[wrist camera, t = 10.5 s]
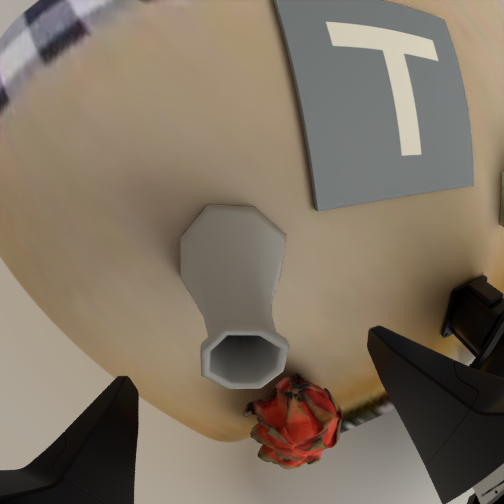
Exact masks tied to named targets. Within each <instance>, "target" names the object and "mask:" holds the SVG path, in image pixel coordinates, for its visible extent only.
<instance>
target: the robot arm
mask: <svg viewBox="0 0 504 504" xmlns="http://www.w3.org/2000/svg"><path fill="white" fill-rule="evenodd" d="M452 334H454V335H455V336H456V337H457V338H458V339H459V340H460V341H461V342H462V343H463V344H464V345H465V346H466V347H467V348H468V349H469V351H470V352H471V353H472V354H473V355H474V356H475V357H476V358H475V359H474V361H473V362H472V364H470V365H469V366H467V365H464V364H462V363H460V362H458V361H455V360H454V361H453V359H451V358H449V357H447V356H444V355H442V354H440V353H438V352H436V351H434V350H431V349H429V348H427V347H425V346H423V345H421V344H418V343H416V342H414V341H412V340H410V339H408V338H406V337H403V336H401V335H399V334H397V333H395V332H393V331H391V330H389V329H386V328H384V327H382V326H375V327H372V328H370V329H369V332H368V341H367V348H368V351H369V354H370V356H371V358H372V361H373V363H374V365H375V368H376V370H377V373H378V375H379V378H380V380H381V382H382V384H383V386H384V388H385V390H386V392H387V393H388V395H389V397H390V399H391V401H392V403H393V404H394V406H395V408H396V410H397V412H398V413H399V415H400V417H401V419H402V421H403V423H404V425H405V427H406V429H407V431H408V433H409V435H410V437H411V439H412V440H413V443H414V444H415V446H416V449H417V451H418V453H419V455H420V457H421V459H422V460H423V463H424V465H425V467H426V469H427V471H428V474H429V476H430V478H431V480H432V482H433V484H434V486H435V489H436V490H437V493H438V495H439V498H440V500H441V502H442V504H446V503H448V502H450V501H451V500H453V499H455V498H456V497H458V496H460V495H461V494H463V493H464V492H466V491H467V490H469V489H470V488H472V487H473V489H474V491H475V493H474V494H473V495H472V496H470V497H469V499H468V502H467V504H504V298H503V293H501V292H500V291H499V290H497V289H496V288H494V287H493V286H492V285H490V284H489V283H487V277H486V276H485V275H484V276H482V277H480V278H478V279H476V280H474V281H471V282H469V283H467V284H465V285H463V286H461V287H459V288H457V289H455V290H454V291H453V292H452V295H451V299H450V304H449V308H448V312H447V316H446V320H445V324H444V328H443V331H442V337H443V338H446V337H448V336H450V335H452ZM138 400H139V394H138V390H137V388H136V387H135V385H134V384H133V382H132V381H131V379H130V378H129V377H128V376H118V377H117V378H116V379H115V380H114V381H113V382H112V383H111V384H110V385H109V386H108V387H107V388H106V389H105V390H104V391H103V392H102V393H101V394H100V395H99V396H98V397H97V398H96V399H95V400H94V401H93V403H91V404H90V405H89V407H87V409H86V410H85V411H84V412H83V413H82V414H81V415H80V416H79V417H78V418H77V419H76V420H75V421H74V422H73V423H72V424H71V425H70V426H69V427H68V428H67V429H66V430H65V432H63V433H62V434H61V436H60V437H59V438H58V439H57V440H56V441H54V443H53V444H51V446H49V447H48V448H47V449H46V450H45V451H44V452H42V453H41V454H40V455H39V456H38V457H37V458H35V459H34V460H33V461H32V462H31V463H30V464H28V465H27V466H26V467H24V468H21V469H17V470H0V504H134V480H135V463H136V449H137V438H138Z"/></svg>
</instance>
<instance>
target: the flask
mask: <svg viewBox="0 0 504 504" xmlns="http://www.w3.org/2000/svg"><path fill="white" fill-rule="evenodd" d="M285 241H286V234H284V233H283V232H282V231H281V230H280V229H279V228H278V227H277V226H275V225H274V224H273V223H272V222H271V221H270V220H269V219H268V218H266V217H265V216H264V215H263V214H262V213H261V212H260V211H258V210H257V209H256V208H255V207H248V206H232V205H214V204H208V205H207V206H206V207H205V209H204V210H203V211H202V212H201V213H200V215H199V216H198V217H197V218H196V219H195V221H194V222H193V223H192V224H191V225H190V227H189V228H188V229H187V230H186V231H185V233H184V234H183V235H182V236H181V238H180V278H181V280H182V282H183V283H184V285H185V286H186V288H187V289H188V291H189V293H190V294H191V296H192V297H193V299H194V301H195V303H196V304H197V306H198V308H199V310H200V311H201V313H202V315H203V317H204V320H205V324H206V328H207V332H208V336H209V337H208V338H207V339H206V340H205V341H204V342H202V344H201V376H203V377H205V378H207V379H209V380H211V381H213V382H215V383H217V384H219V385H221V386H223V387H225V388H228V389H258V388H262V387H263V386H264V385H266V384H267V383H268V382H270V381H271V380H272V379H274V378H275V377H276V376H278V375H279V374H280V373H281V372H283V371H284V367H285V363H286V359H287V355H288V350H289V342H288V341H287V339H286V338H284V337H283V336H281V335H280V334H278V333H277V332H276V330H275V326H274V322H273V318H272V300H273V297H274V293H275V290H276V287H277V285H278V282H279V279H280V275H281V269H282V262H283V255H284V248H285Z"/></svg>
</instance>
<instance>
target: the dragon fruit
mask: <svg viewBox="0 0 504 504" xmlns="http://www.w3.org/2000/svg"><path fill="white" fill-rule="evenodd" d="M297 378H298V379H297V380H296V381H295V382H294V381H293V379H292V378H291V377H288V376H286V377H285V378H283V379H281V380H280V382H277V383H276V384H275V385H274V389H273V391H274V392H275V390H276V391H277V396H276V398H275V399H274V398H266V399H264V400H258V401H253V402H250V403H248V404H247V405H246V407H245V410H244V412H243V416H249V415H252V414H254V415H257V416H259V417H261V418H262V419H260V418H258V417H257V421H258V422H259V423H258V424H257V425H255V426H254V427H253V428H252V430H251V433H250V434H251V438H253V439H255V440H256V441H257V442H258V443H261V444H263V445H262V447H261V448H260V450H259V453H258V457H259V458H260V459H262V460H263V461H266V462H272V463H274V464H279V465H280V466H281V467H283V468H285V469H293V468H297V467H300V466H302V465H303V464H304V463H305V462H306V463H308V464H313V463H316V462H319V461H320V459H321V452H322V451H323V450H324V449H326V448H331V447H333V446H335V444H336V443H337V441H338V440H339V437H340V427H341V423H342V418H343V413H342V410H341V408H340V406H339V405H338V404H337V402H336V401H335V400H334V398H333V397H332V395H331V394H330V392H329V391H328V389H326V388H324V390H323V389H322V388H320V387H319V386H317V385H315V384H313V383H311V382H309V381H308V380H306V379H305V378H304V377H303V376H302V374H301V375H300V374H297ZM274 392H273V393H274Z"/></svg>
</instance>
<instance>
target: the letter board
mask: <svg viewBox="0 0 504 504" xmlns="http://www.w3.org/2000/svg"><path fill="white" fill-rule="evenodd" d="M273 2H274V5H275V9H276V12H277V15H278V19H279V23H280V26H281V30H282V34H283V38H284V41H285V45H286V49H287V54H288V58H289V62H290V66H291V71H292V75H293V80H294V84H295V89H296V94H297V99H298V104H299V109H300V114H301V119H302V125H303V130H304V136H305V142H306V148H307V154H308V161H309V167H310V174H311V181H312V189H313V196H314V204H315V210H317V211H324V210H329V209H334V208H340V207H345V206H351V205H356V204H362V203H368V202H374V201H379V200H385V199H391V198H397V197H403V196H409V195H416V194H422V193H428V192H435V191H442V190H448V189H455V188H462V187H469V186H473V152H472V139H471V129H470V120H469V113H468V106H467V100H466V95H465V89H464V85H463V80H462V75H461V71H460V67H459V63H458V60H457V56H456V52H455V49H454V46H453V43H452V40H451V36H450V34H449V31H448V28H447V25H446V22H445V20H443V19H441V18H438V17H436V16H433V15H430V14H428V13H425V12H422V11H419V10H416V9H412V8H409V7H406V6H402V5H399V4H395V3H391V2H387V1H383V0H273Z"/></svg>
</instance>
